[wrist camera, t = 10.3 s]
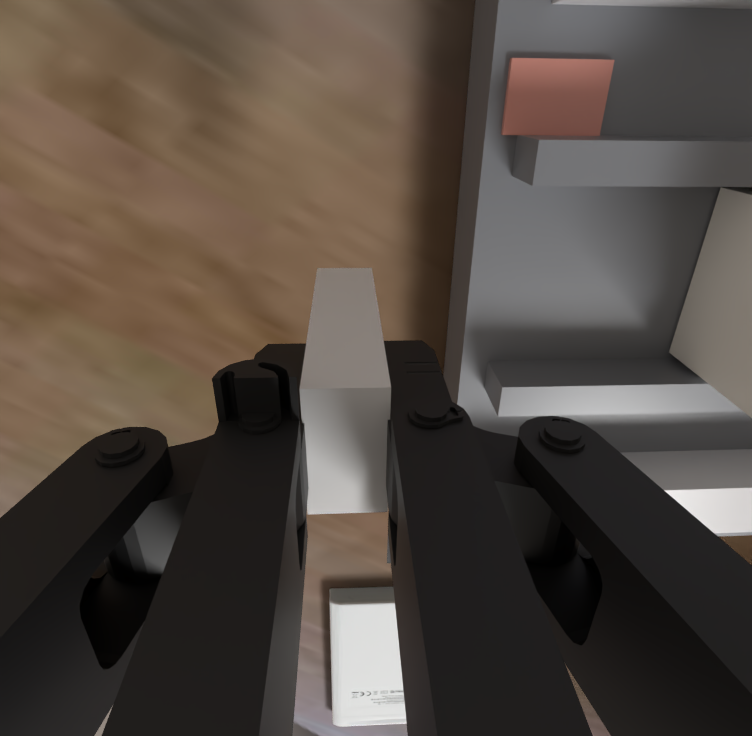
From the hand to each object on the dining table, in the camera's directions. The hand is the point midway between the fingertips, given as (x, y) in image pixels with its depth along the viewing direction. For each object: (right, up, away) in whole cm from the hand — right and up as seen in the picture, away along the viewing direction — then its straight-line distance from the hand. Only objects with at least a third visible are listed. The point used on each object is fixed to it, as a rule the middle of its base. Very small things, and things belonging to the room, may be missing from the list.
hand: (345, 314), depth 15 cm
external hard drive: (+2, -19, +18) cm, 27 cm away
